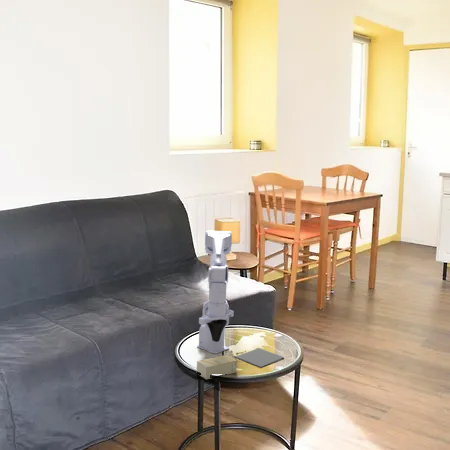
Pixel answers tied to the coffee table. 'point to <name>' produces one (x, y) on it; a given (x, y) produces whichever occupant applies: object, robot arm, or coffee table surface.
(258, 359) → the mat
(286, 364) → the coffee table surface
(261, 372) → the coffee table surface
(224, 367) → the skincare box
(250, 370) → the coffee table surface
